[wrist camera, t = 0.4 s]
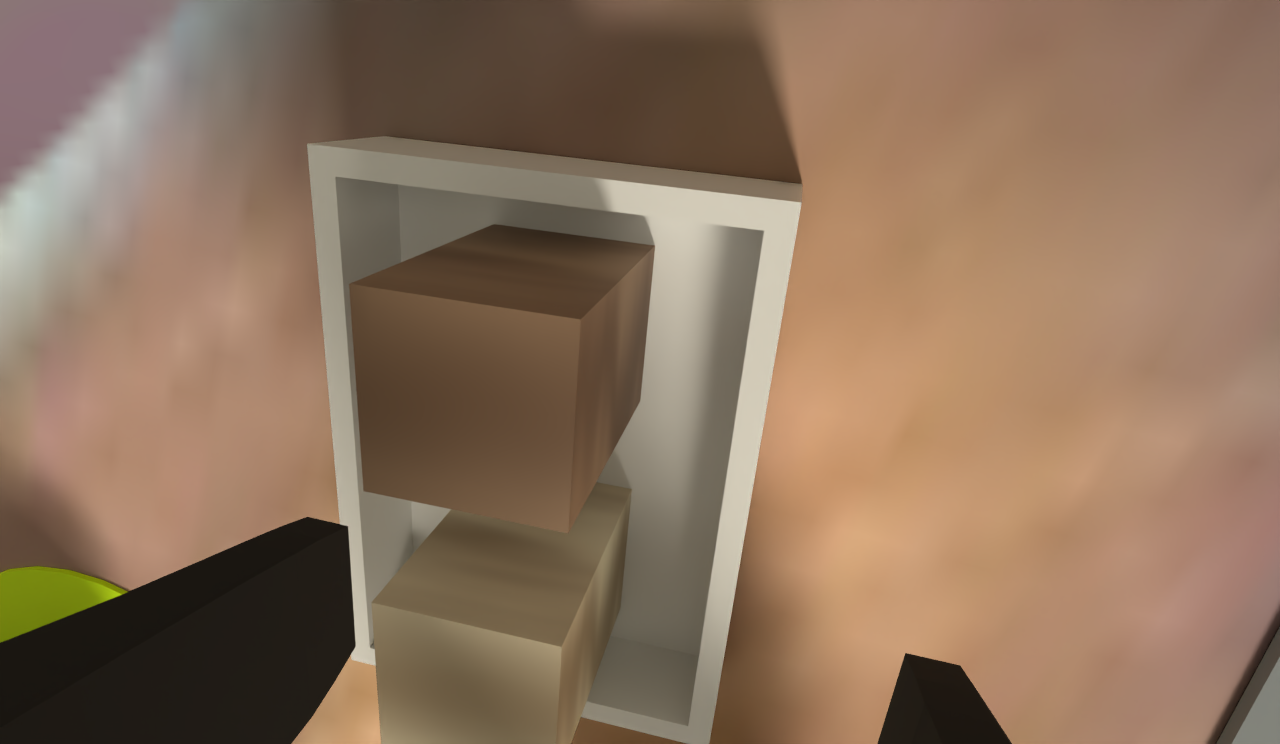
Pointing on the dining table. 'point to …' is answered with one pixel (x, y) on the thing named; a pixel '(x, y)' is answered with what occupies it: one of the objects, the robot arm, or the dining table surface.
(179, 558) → the dining table surface
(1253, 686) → the rubber mat
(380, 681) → the birch block
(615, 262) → the walnut block
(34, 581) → the toy cauldron
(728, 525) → the parts bin
